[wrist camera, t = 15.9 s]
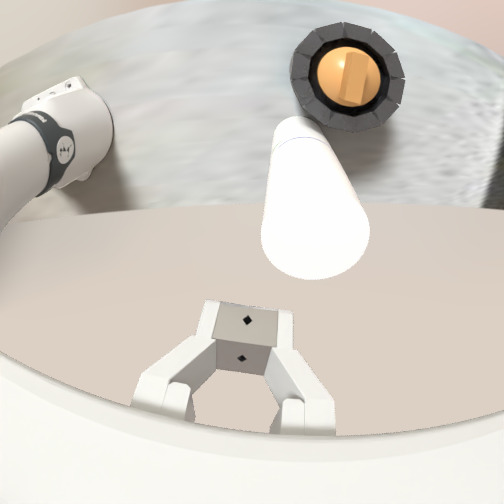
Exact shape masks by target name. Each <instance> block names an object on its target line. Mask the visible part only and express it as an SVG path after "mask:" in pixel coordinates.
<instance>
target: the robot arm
mask: <svg viewBox="0 0 504 504" xmlns="http://www.w3.org/2000/svg"><path fill="white" fill-rule="evenodd" d="M70 84H71V87H70ZM112 133H113V127H112V120H111V116H110V113H109V110H108V108H107V106H106V104H105V103H104V101H103V100H102V99H101V98H100V97H99V96H98V95H97V94H95V93H94V92H92V91H91V90H90V89H88V88H87V86H86V84H85V82H84V81H83V79H82V78H81V77H79V76H75V77H73V78H70V79H68V80H66V81H64V82H62V83H59V84H57V85H55V86H53V87H51V88H49V89H47V90H45V91H43V92H41V93H39V94H38V95H36V96H34V97H32V98H30V99H28V100H27V101H25V102H24V103H23V106H22V109H21V113H19V114H17V115H15V116H14V117H13V119H12V121H11V122H10V123H9V124H8V125H6V126H4V127H2V128H0V234H1V232H2V231H3V229H4V227H5V226H6V225H7V224H8V222H9V221H10V220H11V219H12V218H13V217H14V216H15V215H16V214H17V213H18V212H19V211H20V210H21V209H22V208H23V207H24V206H25V205H26V204H27V203H28V202H30V201H31V200H32V199H33V198H35V197H39V196H41V195H43V194H44V193H46V192H48V191H49V190H51V189H52V188H53V187H54V188H57V189H61V188H63V187H64V186H66V185H67V184H69V183H71V182H72V181H74V180H79V181H84V180H86V179H88V178H89V176H90V174H91V172H92V169H93V168H94V166H95V165H97V164H98V163H99V162H100V161H101V160H102V159H103V158H104V157H105V155H106V154H107V152H108V150H109V148H110V145H111V141H112ZM216 369H221V370H228V371H237V372H243V373H250V374H256V375H263V376H264V378H265V380H266V382H267V384H268V386H269V388H270V390H271V392H272V394H273V395H274V397H275V399H276V401H277V403H278V405H279V407H280V409H279V411H278V413H277V414H276V416H275V418H274V420H273V423H272V424H271V426H270V432H269V433H259V432H251V431H242V430H235V429H228V428H221V427H215V426H209V425H204V424H198V423H194V421H195V411H194V406H193V400H192V394H193V393H194V392H195V391H196V390H197V389H198V388H199V387H200V386H201V385H202V384H203V383H204V382H205V381H206V380H207V379H208V378H209V377H210V376H211V375H212V374H213V373H214V372H215V370H216ZM0 504H504V410H502V411H499V412H496V413H493V414H489V415H486V416H482V417H478V418H474V419H470V420H466V421H462V422H457V423H452V424H448V425H442V426H437V427H431V428H425V429H418V430H411V431H403V432H396V433H395V432H394V433H384V434H371V435H353V436H352V435H351V436H336V428H335V406H334V399H333V398H332V397H331V395H330V394H329V393H328V391H327V390H326V389H325V387H324V386H323V384H322V383H321V382H320V380H319V379H318V377H317V376H316V375H315V373H314V372H313V371H312V369H311V368H310V366H309V365H308V364H307V362H306V361H305V360H304V358H303V357H302V355H301V354H300V353H299V351H298V350H294V349H293V312H292V311H287V310H278V309H270V308H263V307H255V306H245V305H239V304H233V303H227V302H221V301H215V300H210V299H207V300H206V301H205V303H204V307H203V310H202V314H201V317H200V320H199V324H198V327H197V331H196V335H195V336H194V335H190V336H189V337H188V338H187V339H185V340H184V341H183V342H181V343H180V344H179V345H178V346H176V347H175V348H174V349H172V350H171V351H170V352H168V353H167V354H166V355H165V356H163V357H162V358H161V359H159V360H158V361H157V362H155V363H154V364H153V365H151V366H150V367H149V368H147V369H146V370H145V371H144V372H142V374H141V376H140V379H139V382H138V385H137V388H136V390H135V393H134V396H133V399H132V402H131V405H130V407H129V406H126V405H123V404H120V403H116V402H113V401H110V400H107V399H104V398H102V397H99V396H96V395H93V394H90V393H88V392H85V391H83V390H80V389H78V388H75V387H72V386H70V385H67V384H65V383H63V382H61V381H58V380H56V379H54V378H52V377H49V376H47V375H45V374H43V373H41V372H39V371H37V370H35V369H32V368H30V367H28V366H27V365H25V364H23V363H21V362H19V361H17V360H15V359H13V358H11V357H9V356H8V355H6V354H4V353H2V352H1V351H0Z"/></svg>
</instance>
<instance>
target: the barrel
mask: <svg viewBox="0 0 504 504" xmlns="http://www.w3.org/2000/svg"><path fill="white" fill-rule="evenodd" d="M341 47H352V48H356V49H359V50H361V51H363V52H365V53H366V54H368V55H369V56H370V57H371V58H372V59H373V60H374V62H375V63H376V65H377V67H378V69H379V73H380V86H379V90H378V92H377V94H376V95H375V96H374V98H373V99H372V100H370V101H369V102H368V103H366V104H363V105H361V106H354V107H351V106H344V105H341V104H339V103H336V102H335V101H333V100H332V99H330V98H329V97H327V96H326V95H325V94H324V93H323V91H322V90H321V88H320V87H319V85H318V82H317V78H316V69H317V65H318V63H319V61H320V59H321V58H322V57H323V56H324V55H325V54H326V53H328V52H329V51H331V50H334V49H337V48H341ZM394 51H395V50H394V49H393V48H392V47H391V46H390V45H389V44H388V43H387V42H386V41H385V40H384V39H383V38H382V37H381V36H379V35H378V34H377V33H376V32H375V31H373V32H372V29H368V28H365V27H361V26H358V25H354V24H350V23H346V22H344V23H342V22H340V23H335V24H331V25H328V26H324V27H320V28H317V29H315V30H314V31H313V30H312V32H311V33H310V34H309V35H308V36H307V37H306V38H305V39H304V40H303V41H302V42H301V43H300V44H299V45H298V47H297V48H296V49H295V52H294V53H293V56H292V59H291V62H290V69H289V73H290V81H291V85H292V88H293V90H294V92H295V94H296V96H297V98H298V99H299V101H300V104H301V106H302V107H303V108H304V109H305V110H306V111H307V112H309V113H310V114H311V115H312V116H314V117H315V118H316V119H317V120H319V121H320V122H321V123H322V124H324V125H327V127H331V128H335V129H340V130H345V131H349V132H354V131H355V132H359V131H363V130H366V129H370V128H373V127H377V126H380V123H382V124H383V123H384V122H385V121H386V120H387V119H388V118H389V117H390V116H391V115H392V114H393V113H394V112H395V111H396V109H397V108H398V107H399V106H398V105H397V104H396V103H398V104H401V99H402V94H403V89H404V84H405V80H403V79H401V78H405V76H404V73H403V70H402V67H401V64H400V61H399V58H398V55H397V53H393V52H394Z"/></svg>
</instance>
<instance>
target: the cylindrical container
mask: <svg viewBox="0 0 504 504" xmlns="http://www.w3.org/2000/svg"><path fill="white" fill-rule="evenodd" d="M369 233H370V228H369V221H368V219H367V216H366V213H365V211H364V209H363V207H362V205H361V203H360V201H359V199H358V197H357V195H356V193H355V191H354V189H353V187H352V185H351V183H350V181H349V179H348V177H347V175H346V173H345V171H344V170H343V168H342V166H341V164H340V162H339V160H338V158H337V157H336V155H335V153H334V151H333V149H332V148H331V146H330V144H329V142H328V141H327V139H326V137H325V136H324V134H323V132H322V130H321V129H320V127H319V126H318V125H317V124H316V123H315V122H314V121H312V120H311V119H309V118H306V117H301V116H294V117H290V118H287V119H285V120H284V121H282V122H281V123H280V124H279V125H278V126H277V128H276V130H275V132H274V136H273V143H272V151H271V159H270V166H269V174H268V182H267V190H266V198H265V205H264V213H263V221H262V229H261V241H262V247H263V249H264V252H265V254H266V255H267V257H268V259H269V260H270V262H272V263H273V265H274V266H275V267H277V268H278V269H279V270H281V271H282V272H284V273H286V274H288V275H290V276H293V277H297V278H300V279H308V280H319V279H326V278H330V277H333V276H336V275H339V274H341V273H343V272H344V271H346V270H348V269H349V268H350V267H352V266H353V265H354V264H355V263H356V262H357V261H358V260H359V259H360V258H361V256H362V254H363V253H364V251H365V249H366V247H367V244H368V241H369Z"/></svg>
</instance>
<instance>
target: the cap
mask: <svg viewBox="0 0 504 504" xmlns="http://www.w3.org/2000/svg"><path fill="white" fill-rule="evenodd" d="M316 78H317V82H318V85H319V87H320V88H321V90H322V91H323V93H324V94H325V95H326V96H327V97H329V98H330V99H332V100H333V101H335V102H336V103H339V104H341V105H344V106H351V107H354V106H361V105H363V104H366V103H368V102H369V101H370V100H372V99H373V98H374V96H375V95H376V94H377V92H378V90H379V86H380V73H379V69H378V67H377V65H376V63H375V62H374V60H373V59H372V58H371V57H370V56H369V55H368V54H366V53H365V52H363V51H361V50H359V49H356V48H352V47H341V48H337V49H334V50H331V51H329V52H328V53H326V54H325V55H324V56H323V57H322V58H321V59H320V61H319V63H318V65H317V69H316Z"/></svg>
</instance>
